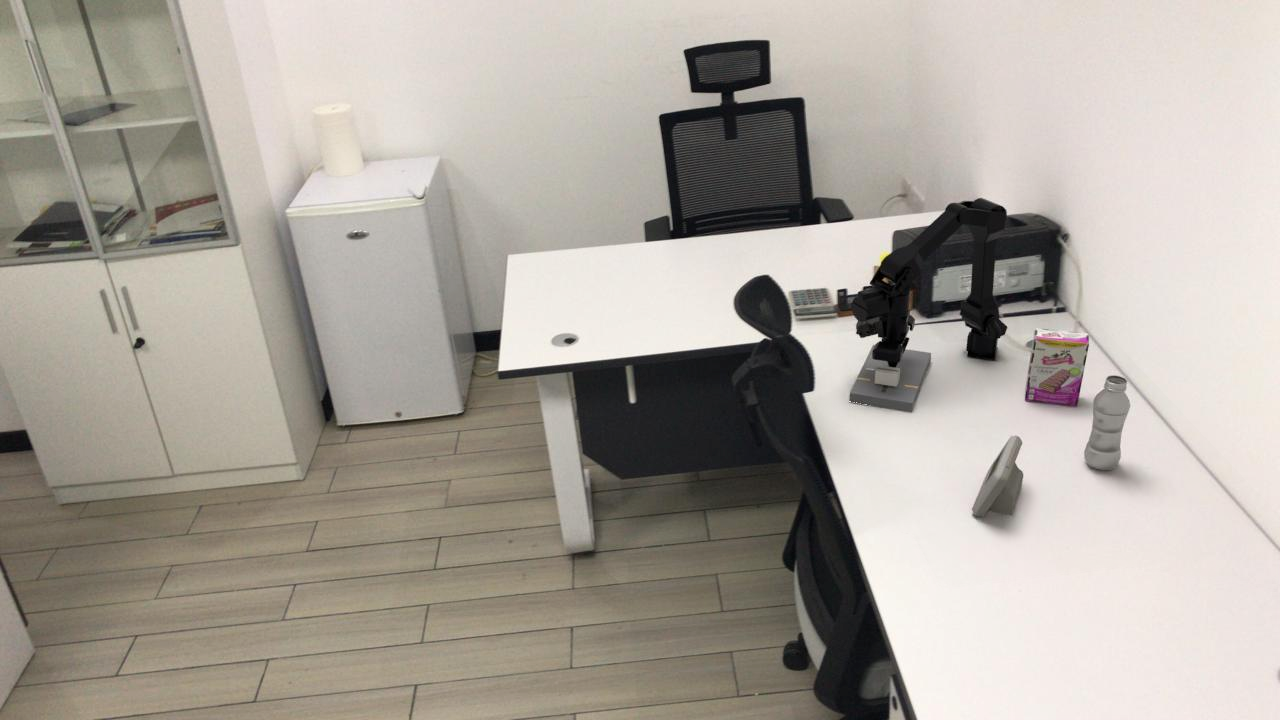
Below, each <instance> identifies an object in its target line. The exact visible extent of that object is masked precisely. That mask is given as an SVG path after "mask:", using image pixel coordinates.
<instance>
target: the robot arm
mask: <svg viewBox="0 0 1280 720" xmlns="http://www.w3.org/2000/svg"><path fill="white" fill-rule="evenodd" d="M1007 217H1008V211H1007V209H1006V208H1005V207H1004V206H1003V205H1000V204H998V203H996V202H993V201H990V200H988V199H986V198H983V197H978V198H976V199H974V200H962V201H960V202H951V203H949V204H947V206H946V207H945V209H944V211H943V212H942V213H941V214H939V216H938V217H937V218H936V219H935V220H933V221H932V223H930V224H929V225H928V226H927V227H926V228H924V230H923V231H922V232H921V233H920V234H918V235H917V236H916V237H915V238H914V240H912V241H911V242H910V243H908V244H907V245H905V246H901V247H899V248H896V249H894V250H893V251H892V252H890V253H889V254H888V255H886V256H885V257H884V258H883V259H882V260H881V263H880V265H879V267H878V268H877V270H876V271H875V273H874V275H873V277H872V278H871V280H870V282H869V285H870V286H871V288H868V289H865V290H860V291H858V292H857V296H855V297H854V298H853V299H852V302H851V305H850V307H851V308H850V309H851V311H852V314H853V316H854V318H855V319H856V320H857V321H856V324H855V330H856V331H855V334H856V335H858V336H859V338H860V339H864V338H867V337H871V336H875V335H877V338H881V340H879V341H878V342H876V343H875V344H874V345H875V346H874V349H873V351H872V358H873V359H874V360H881V361H887V362H888V365H889V367H894V368H896V366H897V364H898V362H900V361H901V358H902V355H903V353H904V351H905V349H907V347H908V344H909V341H910V337H908V333H909V332H910V331H914V328H915V324H916V318H914V317H913V315H911V310H910V298H911V297H910V296H911V292H913V291H915V290H917V289H919V285H917V284H916V283H915V282H914V281H915V280H916V279H917V278H918V276H919V275H920V274H921V272H922V271H923V267H924V264H925V262H926V261H927V259H928V258H929V257H930V256H932V254H933V253H935V252H936V251H937V250H938V249H939V248H940V247H941V246H942V245H944V243H945V242H946V241H948V240H949V239H950V237H951V236H953V235H954V234H955V233H956V232H957V231H958V230H959V229H960V228H961V227H962V226H964V225H967V227H968V229H969V231H970V233H971V236H972V239H973V244H972V245H973V247H972V263H971V265H972V266H971V283H970V293H969V295H967V297H966V298H965V299H963V300H961V301H960V311H959V316H961V320H962V321H963V322H964V324H965V327H968V328H970V331H969V332H968V334H967V338H966V339H967V340H966V345H965V346H966V348H965V351H966V352H967V354H966V357H967V358H975V359H980V360H981V359H982V360H990V361H995V360H996V357H997V354H998V351H999V350H998V349H999V347H998V342H999V340H1000V339H1001V337H1003V336H1005V335H1006V333H1007V330H1008V326H1007V325H1006V324H1005V323H1004V322H1003V321H1002V320H1001V319H1000V310H999V309H1000V308H999V305H998V303H997V300H996V299H995V296H994V281H995V280H994V279H995V265H996V250H997V240H998V238H999V237H1000V235H1001V234H1002V233H1003V232H1004V230H1005V226H1006V223H1007V221H1006V220H1007ZM884 279H885V280H887V281H890V282H891V284H889V283H888V282H886V281H885V280H884ZM872 287H873V288H872Z"/></svg>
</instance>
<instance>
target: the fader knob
mask: <svg viewBox="0 0 1280 720" xmlns="http://www.w3.org/2000/svg"><path fill="white" fill-rule="evenodd" d="M899 379H900V368H894V367H888V366H881V365H878V367H877V369H876V371H875V384H882V385H888V386H895V387H897V385H898V382H899Z"/></svg>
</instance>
